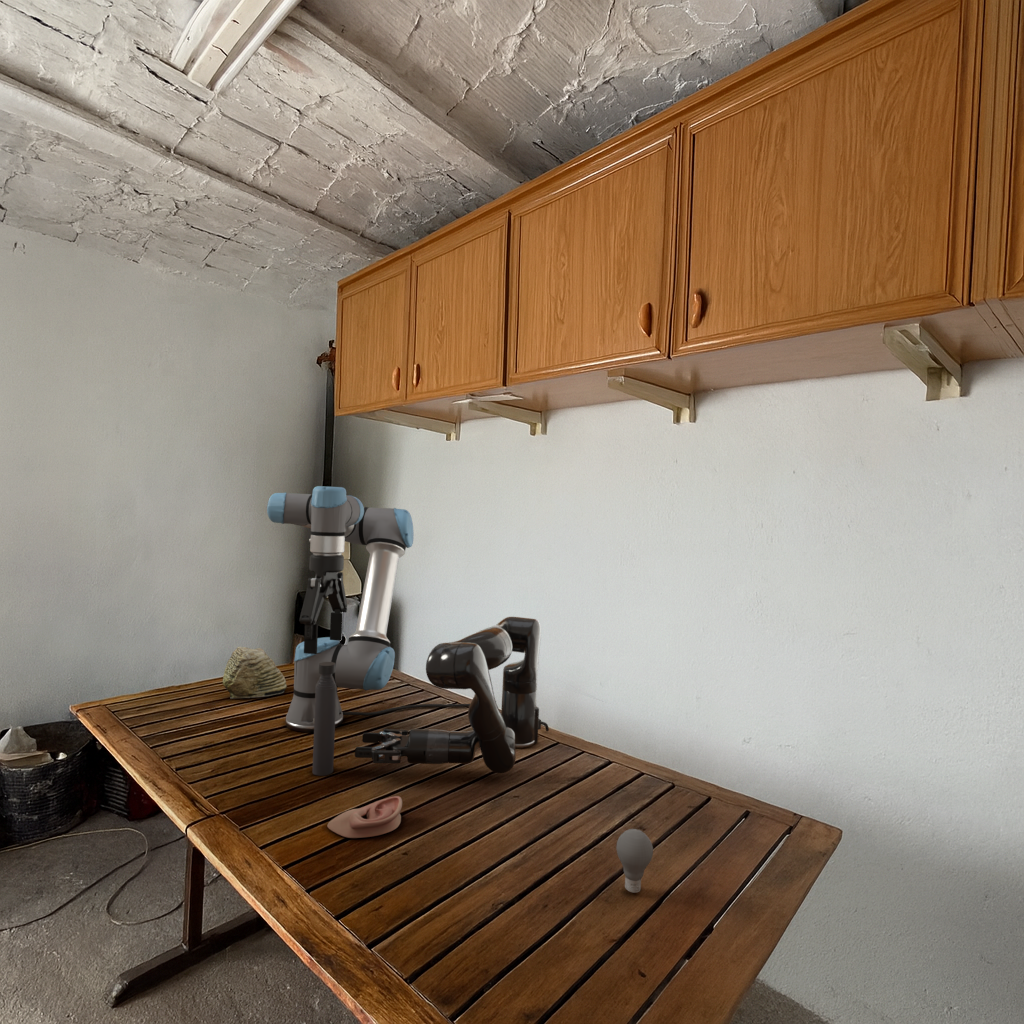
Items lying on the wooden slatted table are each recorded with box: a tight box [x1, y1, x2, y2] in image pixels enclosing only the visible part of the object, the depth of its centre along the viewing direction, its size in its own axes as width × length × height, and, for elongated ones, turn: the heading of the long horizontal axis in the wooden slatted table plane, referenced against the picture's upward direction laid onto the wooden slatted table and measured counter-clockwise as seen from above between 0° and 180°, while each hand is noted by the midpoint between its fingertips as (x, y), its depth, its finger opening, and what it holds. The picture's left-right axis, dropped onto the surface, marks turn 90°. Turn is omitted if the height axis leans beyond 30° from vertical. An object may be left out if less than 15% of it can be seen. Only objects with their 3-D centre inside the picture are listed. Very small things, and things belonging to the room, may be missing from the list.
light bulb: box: [615, 828, 654, 894], centre depth 106 cm, size 6×6×10 cm
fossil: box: [222, 646, 288, 699], centre depth 198 cm, size 9×18×15 cm, turn 132°
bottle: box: [312, 674, 338, 777], centre depth 146 cm, size 5×5×25 cm
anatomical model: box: [327, 795, 403, 839], centre depth 123 cm, size 13×4×12 cm
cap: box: [318, 662, 335, 675], centre depth 145 cm, size 4×4×2 cm
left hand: (323, 646), depth 145 cm, fingers open, 13 cm apart
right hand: (359, 744), depth 146 cm, fingers open, 8 cm apart
